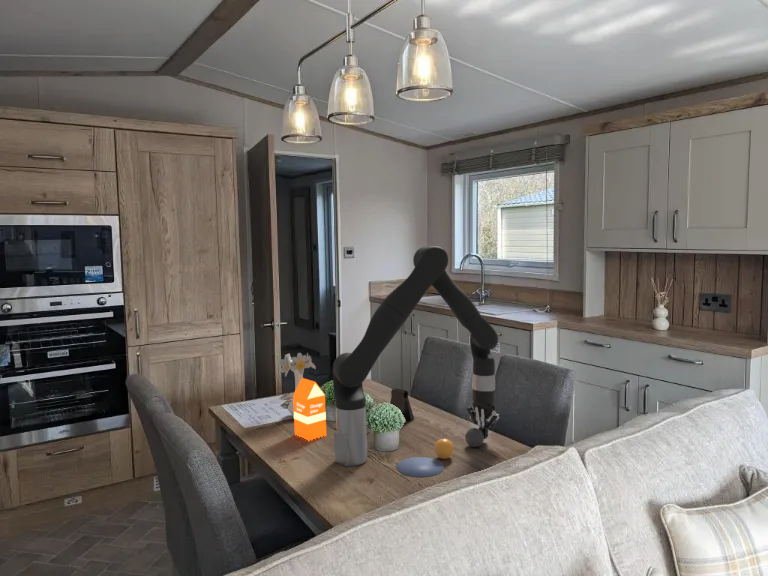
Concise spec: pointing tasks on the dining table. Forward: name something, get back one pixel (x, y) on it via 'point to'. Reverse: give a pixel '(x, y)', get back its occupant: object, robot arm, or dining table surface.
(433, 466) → the blue plate
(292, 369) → the flower vase
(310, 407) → the orange juice
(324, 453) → the dining table surface
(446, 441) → the orange ball
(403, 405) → the door stopper
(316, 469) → the dining table surface
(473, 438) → the gray ball
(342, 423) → the robot arm
